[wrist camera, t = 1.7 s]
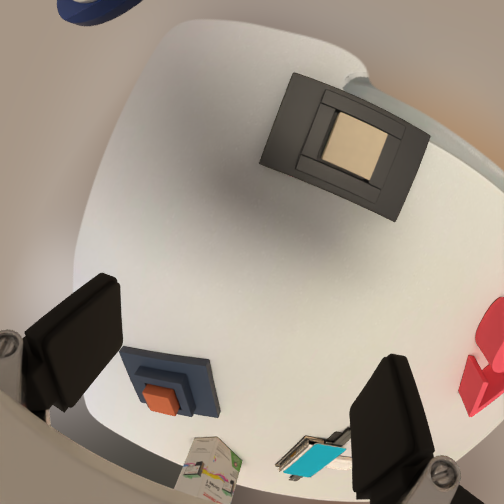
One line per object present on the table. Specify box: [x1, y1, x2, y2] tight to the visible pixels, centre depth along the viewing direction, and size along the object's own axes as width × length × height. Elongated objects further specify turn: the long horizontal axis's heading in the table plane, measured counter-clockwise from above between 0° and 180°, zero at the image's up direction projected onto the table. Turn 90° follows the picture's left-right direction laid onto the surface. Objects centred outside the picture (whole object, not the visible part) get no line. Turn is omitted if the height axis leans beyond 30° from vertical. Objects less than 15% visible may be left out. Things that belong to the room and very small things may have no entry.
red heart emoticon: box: [458, 297, 504, 417], centre depth 22 cm, size 14×10×5 cm
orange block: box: [142, 384, 180, 416], centre depth 31 cm, size 4×4×2 cm
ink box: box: [174, 437, 242, 504], centre depth 34 cm, size 8×5×12 cm, turn 27°
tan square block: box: [321, 112, 388, 180], centre depth 18 cm, size 4×4×2 cm
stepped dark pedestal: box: [259, 73, 430, 222], centre depth 20 cm, size 12×8×2 cm, turn 70°
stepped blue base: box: [119, 346, 220, 418], centre depth 32 cm, size 12×10×3 cm
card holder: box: [275, 428, 352, 481], centre depth 35 cm, size 20×12×2 cm, turn 162°
